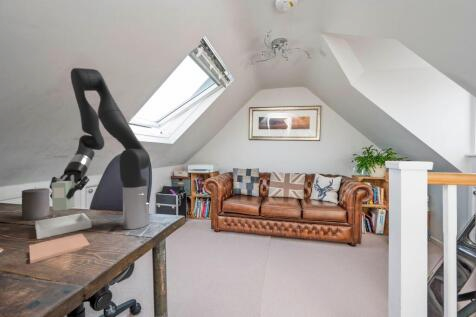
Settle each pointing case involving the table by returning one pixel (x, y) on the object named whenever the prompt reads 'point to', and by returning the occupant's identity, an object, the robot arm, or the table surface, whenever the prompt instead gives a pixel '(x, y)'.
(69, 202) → the sage box
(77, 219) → the grey bin
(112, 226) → the table surface
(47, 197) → the pillar candle
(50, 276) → the table surface
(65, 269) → the table surface
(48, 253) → the terracotta tile
